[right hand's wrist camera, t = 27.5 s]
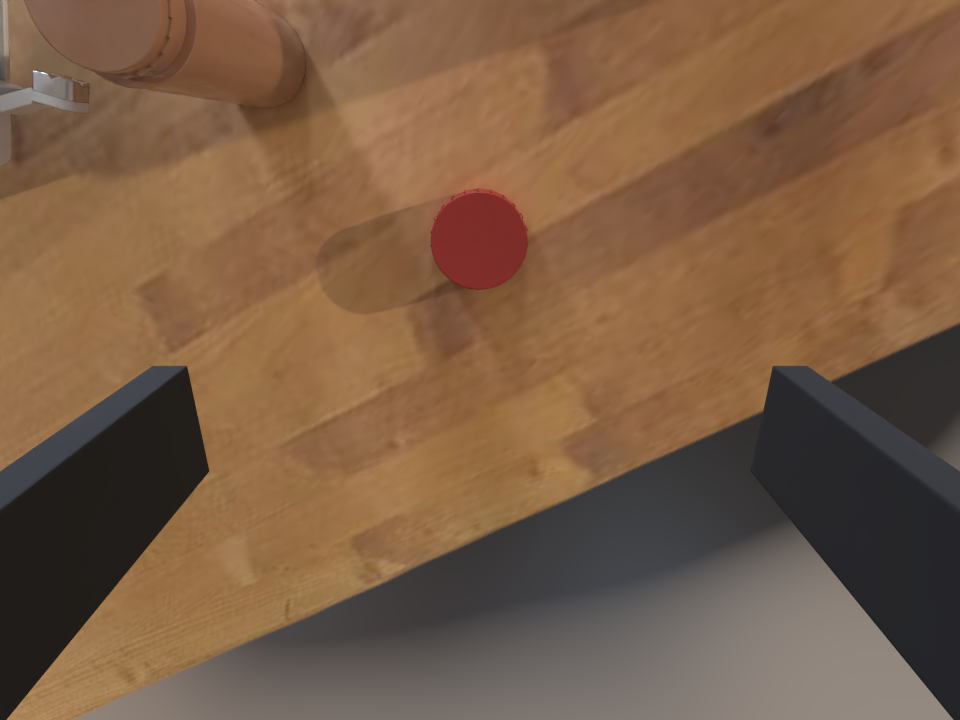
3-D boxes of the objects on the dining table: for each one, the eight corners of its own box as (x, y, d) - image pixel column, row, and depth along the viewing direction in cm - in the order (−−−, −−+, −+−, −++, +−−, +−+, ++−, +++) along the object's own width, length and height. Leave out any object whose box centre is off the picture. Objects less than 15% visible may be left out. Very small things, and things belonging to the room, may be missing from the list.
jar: (322, 83, 34) (203, 40, 19) (247, 123, 35) (79, 111, 20) (274, -12, 32) (103, -138, 18) (197, 33, 33) (-29, -52, 18)
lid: (413, 240, 38) (409, 246, 36) (474, 166, 36) (474, 168, 34) (482, 301, 39) (483, 309, 37) (545, 232, 37) (548, 238, 35)
